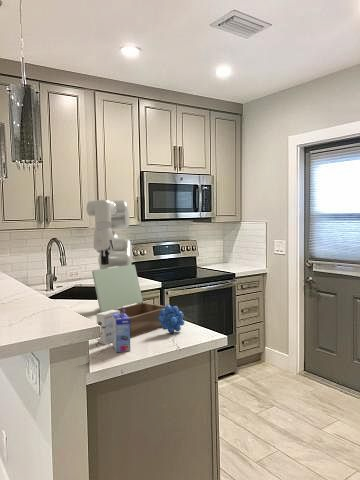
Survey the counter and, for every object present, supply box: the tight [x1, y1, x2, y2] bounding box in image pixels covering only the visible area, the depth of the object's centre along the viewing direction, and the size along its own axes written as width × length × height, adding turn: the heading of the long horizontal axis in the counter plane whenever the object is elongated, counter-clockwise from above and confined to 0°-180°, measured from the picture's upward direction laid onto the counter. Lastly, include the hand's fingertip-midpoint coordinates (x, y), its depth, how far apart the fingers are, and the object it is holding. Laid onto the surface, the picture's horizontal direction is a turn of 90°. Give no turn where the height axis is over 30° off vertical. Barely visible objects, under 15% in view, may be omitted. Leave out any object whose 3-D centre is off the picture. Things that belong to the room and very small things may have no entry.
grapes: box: [158, 304, 185, 334], centre depth 164 cm, size 12×7×12 cm, turn 113°
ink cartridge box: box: [112, 309, 131, 353], centre depth 147 cm, size 10×6×14 cm, turn 17°
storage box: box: [115, 302, 166, 339], centre depth 175 cm, size 18×24×8 cm
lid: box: [91, 264, 144, 313], centre depth 183 cm, size 19×25×2 cm
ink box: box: [95, 310, 120, 345], centre depth 156 cm, size 9×5×12 cm, turn 141°
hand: (105, 264), depth 188 cm, fingers closed
